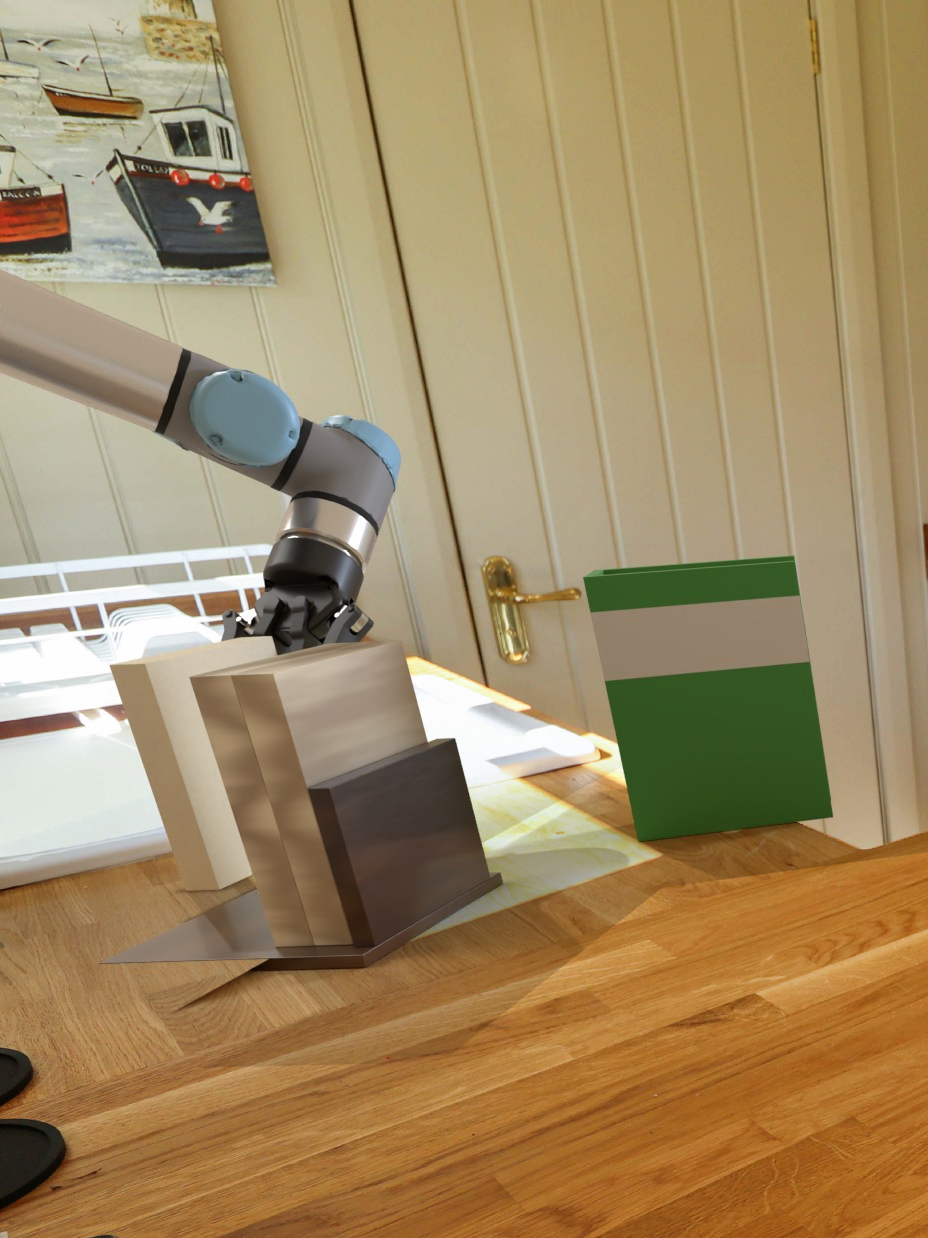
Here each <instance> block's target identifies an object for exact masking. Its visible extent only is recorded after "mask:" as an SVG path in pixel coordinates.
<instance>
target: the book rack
mask: <svg viewBox="0 0 928 1238" xmlns="http://www.w3.org/2000/svg"><path fill="white" fill-rule="evenodd" d="M189 678H190V681H191V684H192V688H193V691H194V694H195V697H196V700H197V703H198V706H199V709H200V713H201V716H202V719H203V722H204V725H205V728H206V731H207V734H208V737H209V741H210V744H211V747H212V750H213V753H214V756H215V759H216V762H217V765H218V769H219V772H220V775H221V778H222V781H223V784H224V787H225V790H226V793H227V797H228V800H229V803H230V806H231V809H232V812H233V815H234V818H235V821H236V825H237V828H238V831H239V834H240V837H241V840H242V843H243V846H244V850H245V853H246V856H247V859H248V862H249V865H250V868H251V871H252V874H253V875H252V877H253V880H254V884H255V887H256V889H254V890H251V891H249V892H248V893H244V894H243V895H240V896H239V897H237V898H234V899H232V900H230V901H228V902H226V903H224V904H222V905H219V906H218V907H216V908H213V909H211V910H209V911H207V912H204V913H202V914H200V915H199V916H195V917H194V918H191V919H190V920H188V921H185V922H182V923H181V924H179V925H177V926H175V927H171V928H170V929H169V930H166V931H164V932H162V933H160V934H158V935H155V936H153V937H151V938H149V939H146V940H145V941H142V942H140V943H138V944H136V945H134V946H132V947H130V948H128V949H125V950H124V951H121V952H119V953H117V954H115V955H113V956H111V957H108V958H106V959H104V960H102V961H100V962H99V963H98V964H99V965H107V964H109V965H110V964H141V963H145V964H146V963H175V962H177V963H178V962H207V961H210V962H211V961H212V962H213V961H243V960H244V961H245V960H246V961H247V960H264V961H263V962H261V963H259V964H257V965H255V966H253V967H252V968H249V969H248V970H247V972H253V971H255V972H256V971H285V970H286V971H288V970H289V971H291V970H321V969H323V970H324V969H326V970H327V969H353V968H354V969H358V968H367V967H368V966H370V965H372V964H374V963H376V962H377V961H378V960H381V959H382V958H383V957H385V956H387V955H388V954H390V953H392V952H393V951H395V950H396V949H398V948H399V947H401V946H402V945H405V944H406V943H408V942H410V941H412V940H413V939H414V938H416V937H418V936H419V935H420V934H423V933H424V932H426V931H427V930H429V929H431V928H433V927H434V926H435V925H437V924H438V923H440V922H442V921H443V920H445V919H446V918H448V917H450V916H451V915H453V914H455V913H456V912H458V911H460V910H461V909H463V908H465V907H467V906H468V905H470V904H472V903H473V902H475V901H476V900H478V899H479V898H481V897H482V896H484V895H486V894H487V893H489V892H490V891H492V890H494V889H495V888H497V887H498V886H501V885H502V884H503V883H504V880H503V876H502V873H501V872H500V871H498V872H497V871H495V872H491V871H490V870H489V866H488V861H487V858H486V854H485V850H484V845H483V842H482V838H481V834H480V831H479V826H478V823H477V819H476V815H475V811H474V807H473V804H472V803H473V802H472V799H471V798H472V797H471V795H470V791H469V787H468V783H467V779H466V775H465V771H464V768H463V767H464V766H463V764H462V759H461V755H460V751H459V748H458V744H457V740H456V739H457V738H456V737H446V738H445V737H444V738H435V739H432V740H429V741H428V737H427V734H426V730H425V725H424V722H423V718H422V714H421V709H420V707H419V702H418V699H417V694H416V692H415V688H414V683H413V679H412V676H411V671H410V667H409V664H408V660H407V656H406V653H405V649H404V645H403V642H402V640H400V639H399V640H397V639H396V640H378V641H360V642H351V643H329V644H325V645H320V646H316V647H312V648H308V649H303V650H299V651H295V652H291V653H287V654H282V655H278V656H274V657H270V658H265V659H261V660H257V661H253V662H249V663H244V664H240V665H236V666H232V667H227V668H223V669H219V670H215V671H211V672H206V673H202V674H198V675H194V676H190V677H189Z"/></svg>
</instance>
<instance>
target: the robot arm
mask: <svg viewBox="0 0 928 1238" xmlns="http://www.w3.org/2000/svg"><path fill="white" fill-rule="evenodd" d="M0 374H2V375H5V376H7V377H10V378H13V379H16V380H18V381H21V382H23V383H26V384H29V385H31V386H34V387H37V388H39V389H41V390H44V391H46V392H49V393H52V394H55V395H57V396H60V397H63V398H65V399H68V400H71V401H73V402H76V403H78V404H81V405H83V406H86V407H89V408H92V409H94V410H97V411H100V412H102V413H105V414H107V415H110V416H113V417H115V418H118V419H120V420H123V421H126V422H128V423H131V424H133V425H137V426H139V427H141V428H144V429H147V430H150V431H151V432H152V433H153V434H155V435H157V436H159V437H161V438H163V439H166V440H167V441H170V442H171V443H173V444H175V445H176V446H178V447H180V448H181V449H182V450H184V451H186V452H193V454H197V455H198V456H201V457H203V458H206V459H207V460H209V461H212V462H214V463H216V464H218V465H221V466H223V467H225V468H227V469H229V470H231V471H233V472H236V473H238V474H240V475H242V476H243V475H244V476H245V477H247V478H249V479H252V480H254V481H257V482H259V483H261V484H264V485H266V486H268V487H270V488H271V489H272V490H275V491H277V492H281V493H283V494H284V495H286V496H288V497H291V498H290V501H289V504H288V506H287V509H286V511H285V513H284V516H283V518H282V520H281V523H280V526H279V529H278V531H277V533H276V536H275V540H274V541H275V543H274V544H273V545H272V547H271V550H270V553H269V554H268V557H267V560H266V563H265V565H264V567H263V571H262V578H263V584H264V591H263V593H262V595H261V596H260V597H259V598H258V599H257V600H256V601H255V603H254V605H253V608H251V609H249V610H246V611H244V612H243V611H242V612H241V613H238V612H237V611H235V610H234V609H226V610H225V611H224V612H223V613H222V616H221V618H222V625H223V634H222V635H221V639H220V642H221V641H226V640H231V639H236V638H240V637H263V636H272V638H273V642H274V645H275V648H276V652H277V655H282V654H287V653H291V652H295V651H299V650H303V649H308V648H312V647H316V646H320V645H325V644H329V643H351V642H362V640H363V639H364V638H365V637H366V635H367V634H368V633H370V630H372V629H373V627H374V625H375V622H374V621H373V620H372V618H370V617H369V616H368V615H367V614H366V613H365V612H364V611H363V610H362V609H361V608H359V606H358V605H356V603H357V600H358V598H359V594H360V591H361V589H362V585H363V582H364V580H365V576H364V575H365V574H366V572H367V569H368V566H369V563H370V560H371V557H372V554H373V552H374V549H375V546H376V543H377V540H378V537H379V534H380V531H381V528H382V526H383V523H384V520H385V517H386V515H387V512H388V509H389V506H390V504H391V501H392V498H393V496H394V493H395V491H396V490H397V483H398V482H397V481H398V477H399V474H400V473H399V472H400V470H401V465H402V455H401V452H400V449H399V446H398V445H397V443H396V442H395V440H394V439H393V437H391V436H390V435H389V434H388V433H387V432H386V431H385V430H383V429H381V427H379V426H377V425H376V424H374V423H372V422H370V421H368V420H365V419H363V418H360V419H354V418H353V417H351V416H350V415H346V414H337V415H331V416H328V417H326V418H325V419H323V420H322V421H321V422H320V423H319V424H318V423H316V422H315V421H311V420H309V419H307V418H306V417H302V416H300V415H299V413H298V410H297V408H296V406H295V404H294V402H293V400H292V399H291V398H290V397H289V395H288V394H287V393H286V392H285V391H284V390H283V388H281V387H280V386H279V385H277V384H276V383H275V382H274V381H272V380H270V379H269V378H266V377H265V376H262V375H261V374H258V373H256V372H254V371H250V370H247V369H239V368H233V367H230V366H228V365H226V364H224V363H221V362H219V361H216V360H214V359H212V358H209V357H207V356H205V355H202V354H200V353H196V352H195V351H192V350H189V349H187V348H184V347H183V346H182V345H179V344H177V343H175V342H172V341H169V340H167V339H165V338H162V337H160V336H158V335H156V334H153V333H151V332H148V331H147V330H144V329H142V328H139V327H138V326H134V325H132V324H130V323H128V322H125V321H122V320H120V319H118V318H116V317H113V316H111V315H109V314H107V313H104V312H101V311H99V310H98V309H94V308H92V307H90V306H88V305H85V304H83V303H80V302H78V301H75V300H74V299H71V298H70V297H66V296H64V295H61V294H60V293H57V292H54V291H52V290H51V289H48V288H45V287H43V286H40V285H38V284H36V283H33V282H31V281H29V280H26V279H24V278H21V277H19V276H17V275H14V274H12V273H10V272H7V271H5V270H3V269H1V268H0Z"/></svg>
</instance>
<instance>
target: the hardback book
mask: <svg viewBox="0 0 928 1238" xmlns="http://www.w3.org/2000/svg"><path fill="white" fill-rule="evenodd" d="M795 557H796V556H795V554H794V555H793V554H792V555H780V556H768V557H767V556H766V557H751V558H740V559H727V560H726V559H725V560H710V561H699V562H697V561H696V562H686V563H685V562H684V563H672V564H671V563H670V564H659V565H656V564H655V565H644V566H632V567H631V566H630V567H629V566H628V567H617V568H605V569H603V568H602V569H594V570H592V571H591V572H589V573H587V574H586V575H585V576H583V577H582V580H583V584H584V588H585V594H586V599H587V603H588V609H589V612H590V619H591V622H592V627H593V633H594V636H595V642H596V646H597V647H596V648H597V651H598V655H599V661H600V666H601V670H602V676H603V679H604V680H603V681H604V684H605V689H606V695H607V700H608V705H609V709H610V714H611V719H612V723H613V729H614V732H615V738H616V743H617V747H618V752H619V756H620V757H619V758H620V762H621V767H622V770H623V776H624V782H625V786H626V791H627V794H628V800H629V804H630V810H631V815H632V819H633V824H634V829H635V832H636V834H635V835H636V838H637V842H638V843H639V842H647V841H654V840H663V839H670V838H671V839H672V838H680V837H687V836H688V837H689V836H696V835H704V834H712V833H719V832H727V831H735V830H744V829H753V828H760V827H767V826H775V825H782V824H783V825H784V824H791V823H792V824H793V823H799V822H808V821H816V820H824V819H831V818H834V811H833V806H832V797H831V796H832V795H831V789H830V783H829V776H828V770H827V764H826V763H827V762H826V756H825V750H824V744H823V743H824V742H823V737H822V729H821V722H820V717H819V710H818V704H817V696H816V689H815V684H814V683H815V682H814V677H813V671H812V664H811V658H810V657H811V656H810V650H809V644H808V637H807V630H806V624H805V619H804V618H805V617H804V610H803V605H802V597H801V591H800V585H799V579H798V571H797V565H796V558H795Z"/></svg>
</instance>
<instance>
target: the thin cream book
mask: <svg viewBox="0 0 928 1238" xmlns="http://www.w3.org/2000/svg"><path fill="white" fill-rule="evenodd" d="M274 656H278V655H277V652H276V648H275V645H274V642H273V638H272V636H263V637H240V638H236V639H231V640H226V641H221V640H220V641H217V642H212V643H207V644H202V645H198V646H193V647H189V648H184V649H178V650H173V651H169V652H164V653H159V654H155V655H150V656H149V655H148V656H146V657H140V658H135V659H130V660H125V661H122V662H117V663H112V664H109V669H110V671H111V675H112V677H113V680H114V683H115V686H116V689H117V693H118V695H119V698H120V701H121V703H122V707H123V709H124V713H125V715H126V718H127V721H128V724H129V728H130V730H131V734H132V736H133V739H134V742H135V746H136V748H137V751H138V754H139V758H140V760H141V763H142V766H143V768H144V772H145V775H146V777H147V780H148V783H149V786H150V789H151V793H152V795H153V798H154V801H155V804H156V807H157V810H158V812H159V816H160V818H161V821H162V824H163V827H164V830H165V833H166V836H167V839H168V842H169V845H170V848H171V851H172V854H173V857H174V860H175V863H176V866H177V869H178V872H179V875H180V877H181V881H182V883H183V886H184V889H185V891H186V892H194V891H218V890H222V889H225V888H226V887H228V886H231V885H234V884H236V883H237V882H240V881H243V880H244V879H247V878H248V877H251V876H253V874H252V871H251V868H250V865H249V862H248V859H247V856H246V853H245V850H244V846H243V843H242V840H241V837H240V834H239V831H238V828H237V825H236V821H235V818H234V815H233V812H232V809H231V806H230V803H229V800H228V797H227V793H226V790H225V787H224V784H223V781H222V778H221V775H220V772H219V769H218V765H217V762H216V759H215V756H214V753H213V750H212V747H211V744H210V741H209V737H208V734H207V731H206V728H205V725H204V722H203V719H202V716H201V713H200V709H199V706H198V703H197V700H196V697H195V694H194V691H193V688H192V684H191V681H190V678H189V677H190V676H194V675H198V674H202V673H206V672H211V671H215V670H219V669H223V668H227V667H232V666H236V665H240V664H244V663H249V662H253V661H257V660H261V659H265V658H270V657H274Z"/></svg>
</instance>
